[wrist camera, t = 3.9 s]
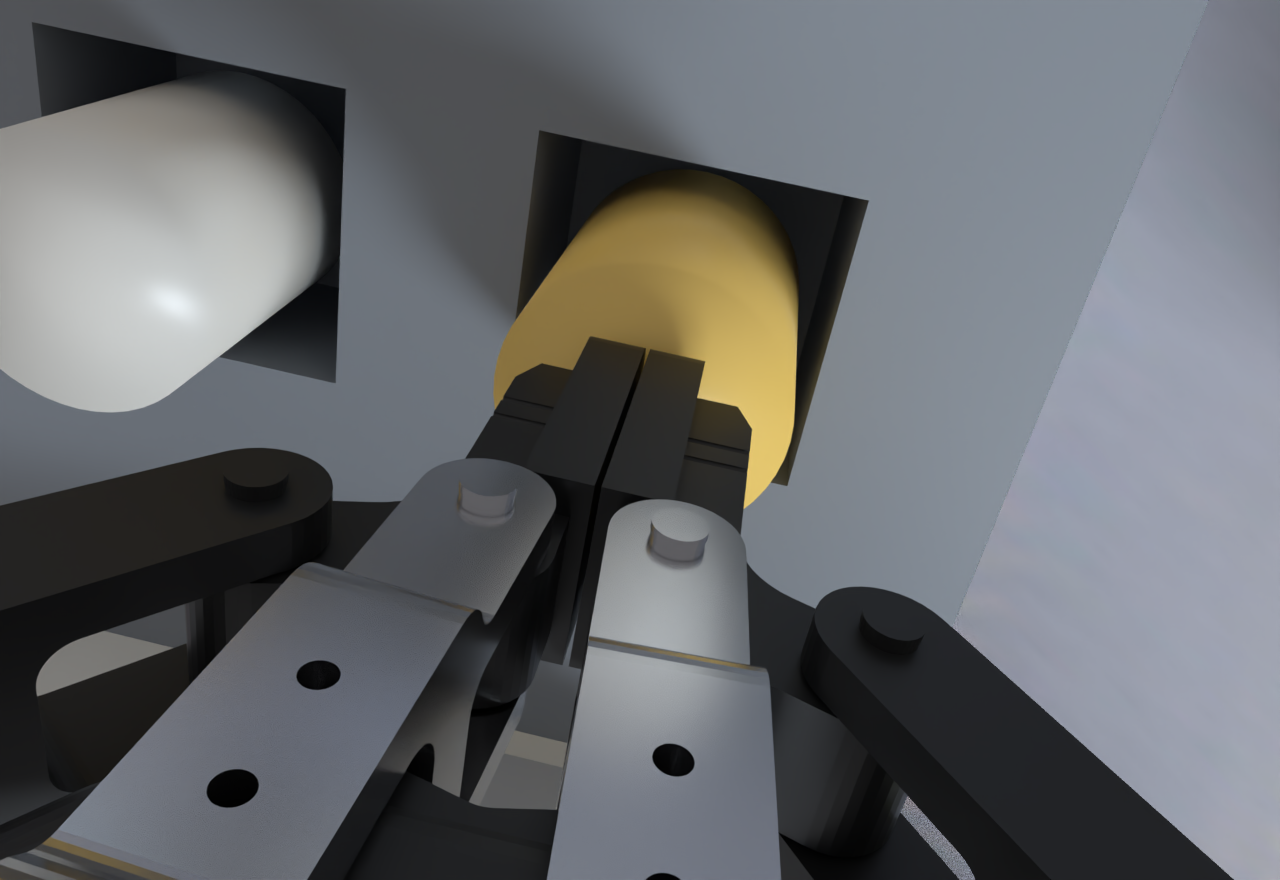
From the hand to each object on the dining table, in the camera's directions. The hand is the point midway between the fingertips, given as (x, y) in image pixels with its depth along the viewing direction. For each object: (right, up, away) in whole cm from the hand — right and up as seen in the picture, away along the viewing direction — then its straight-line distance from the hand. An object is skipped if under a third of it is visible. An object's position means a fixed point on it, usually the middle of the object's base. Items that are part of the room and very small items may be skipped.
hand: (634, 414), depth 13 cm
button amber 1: (+1, +2, +5) cm, 5 cm away
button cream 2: (-7, +4, +5) cm, 10 cm away
